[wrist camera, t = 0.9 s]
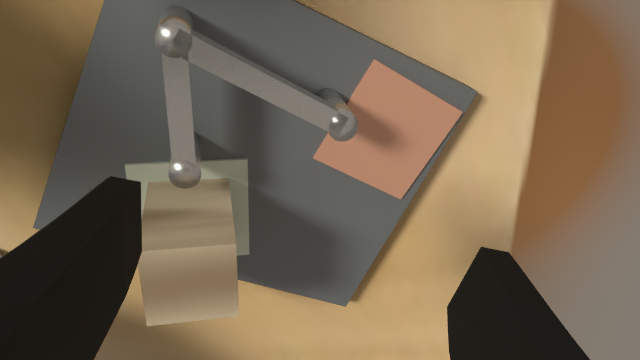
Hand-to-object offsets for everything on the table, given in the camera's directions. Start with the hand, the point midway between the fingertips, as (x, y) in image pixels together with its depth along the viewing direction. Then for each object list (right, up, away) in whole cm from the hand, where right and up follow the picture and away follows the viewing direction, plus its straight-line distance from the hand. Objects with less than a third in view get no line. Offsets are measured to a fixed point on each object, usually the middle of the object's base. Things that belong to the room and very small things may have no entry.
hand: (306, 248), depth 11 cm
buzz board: (-3, +3, +17) cm, 17 cm away
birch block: (-6, 0, +16) cm, 18 cm away
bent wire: (-4, +5, +14) cm, 16 cm away
